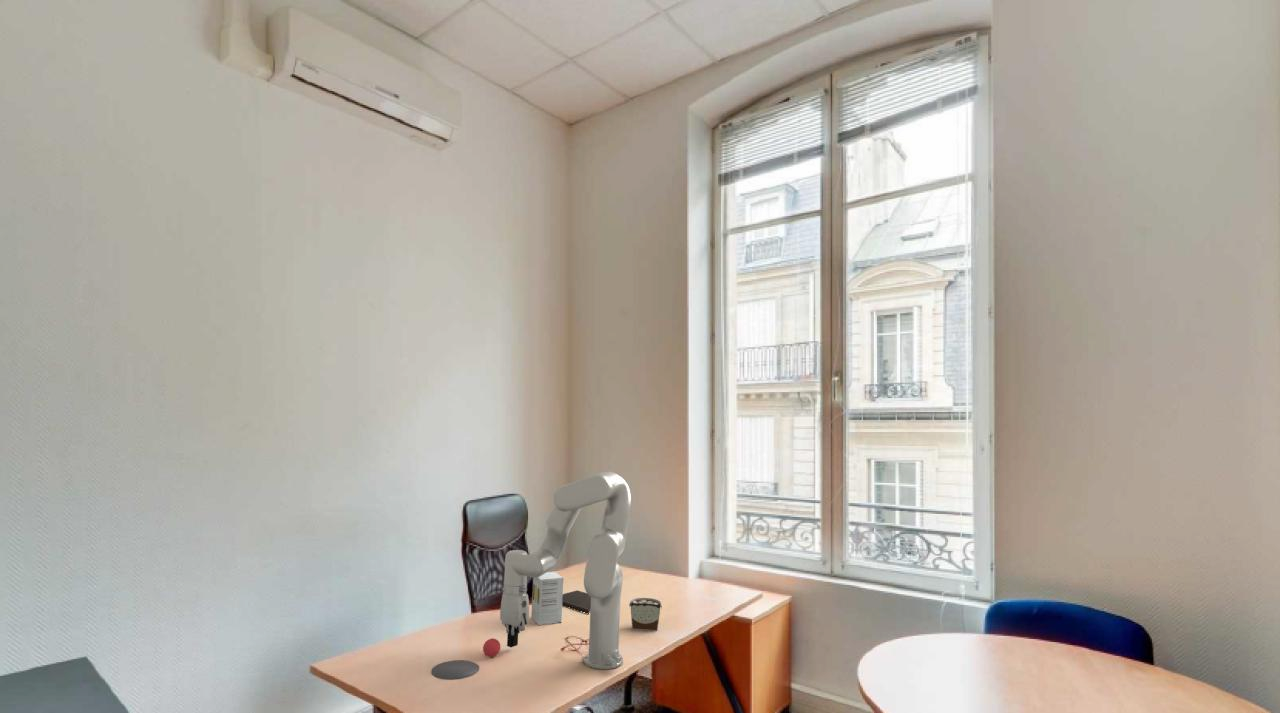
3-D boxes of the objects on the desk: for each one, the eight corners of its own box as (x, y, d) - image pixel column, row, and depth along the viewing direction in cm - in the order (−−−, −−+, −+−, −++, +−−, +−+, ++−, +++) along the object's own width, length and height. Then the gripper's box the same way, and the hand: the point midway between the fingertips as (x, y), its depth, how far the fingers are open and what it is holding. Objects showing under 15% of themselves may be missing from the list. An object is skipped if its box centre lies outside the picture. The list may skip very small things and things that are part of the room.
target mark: (485, 673, 193) (485, 673, 193) (438, 682, 186) (438, 682, 186) (471, 657, 205) (471, 657, 205) (426, 665, 198) (426, 665, 198)
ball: (489, 648, 202) (496, 661, 204) (499, 635, 207) (506, 648, 209) (476, 647, 205) (483, 660, 207) (487, 634, 210) (493, 646, 211)
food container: (662, 625, 242) (663, 598, 243) (661, 631, 236) (662, 603, 237) (629, 623, 243) (630, 596, 244) (628, 629, 237) (629, 601, 238)
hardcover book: (577, 595, 280) (577, 590, 280) (616, 607, 265) (616, 601, 265) (549, 603, 267) (549, 597, 268) (588, 616, 252) (588, 610, 253)
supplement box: (530, 618, 246) (532, 573, 247) (553, 615, 250) (555, 571, 251) (538, 626, 237) (540, 579, 239) (562, 623, 241) (564, 577, 243)
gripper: (538, 591, 212) (536, 648, 211) (509, 582, 222) (506, 637, 220) (521, 596, 206) (518, 655, 205) (492, 586, 216) (489, 643, 214)
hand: (512, 645), depth 213 cm, fingers closed
